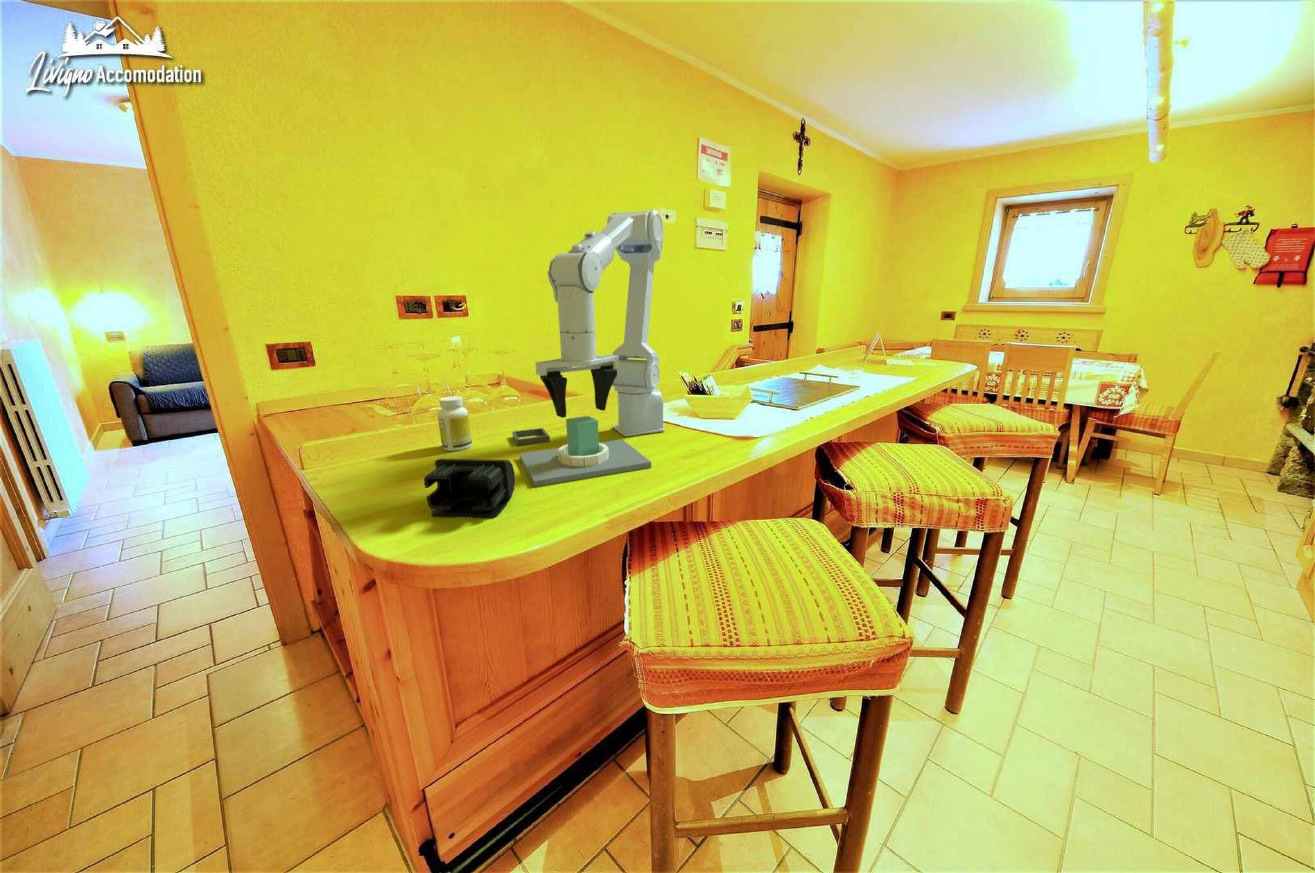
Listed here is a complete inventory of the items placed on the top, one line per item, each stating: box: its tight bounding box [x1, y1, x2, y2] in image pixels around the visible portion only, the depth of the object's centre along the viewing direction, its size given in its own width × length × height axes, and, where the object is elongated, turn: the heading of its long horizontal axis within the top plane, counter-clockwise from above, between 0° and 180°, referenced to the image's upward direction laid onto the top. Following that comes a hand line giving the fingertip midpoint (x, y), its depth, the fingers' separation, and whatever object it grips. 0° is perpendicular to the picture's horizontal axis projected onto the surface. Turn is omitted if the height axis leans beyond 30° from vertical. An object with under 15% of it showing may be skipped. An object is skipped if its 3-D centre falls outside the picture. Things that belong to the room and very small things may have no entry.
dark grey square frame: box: [511, 427, 551, 447], centre depth 94 cm, size 6×6×1 cm
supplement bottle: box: [437, 395, 473, 452], centre depth 88 cm, size 5×5×10 cm
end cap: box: [423, 458, 516, 519], centre depth 63 cm, size 10×7×7 cm
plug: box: [565, 415, 600, 456], centre depth 79 cm, size 4×4×7 cm
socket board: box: [519, 439, 652, 488], centre depth 80 cm, size 20×14×3 cm
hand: (581, 412), depth 78 cm, fingers open, 7 cm apart
